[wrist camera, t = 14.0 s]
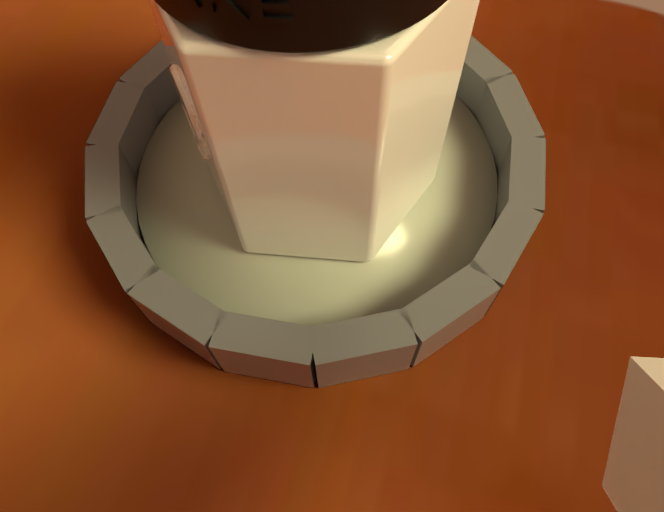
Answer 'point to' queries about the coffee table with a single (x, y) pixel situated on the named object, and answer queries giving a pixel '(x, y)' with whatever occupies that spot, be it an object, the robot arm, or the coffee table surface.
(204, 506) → the coffee table surface
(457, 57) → the jar
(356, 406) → the coffee table surface
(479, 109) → the ring dish
